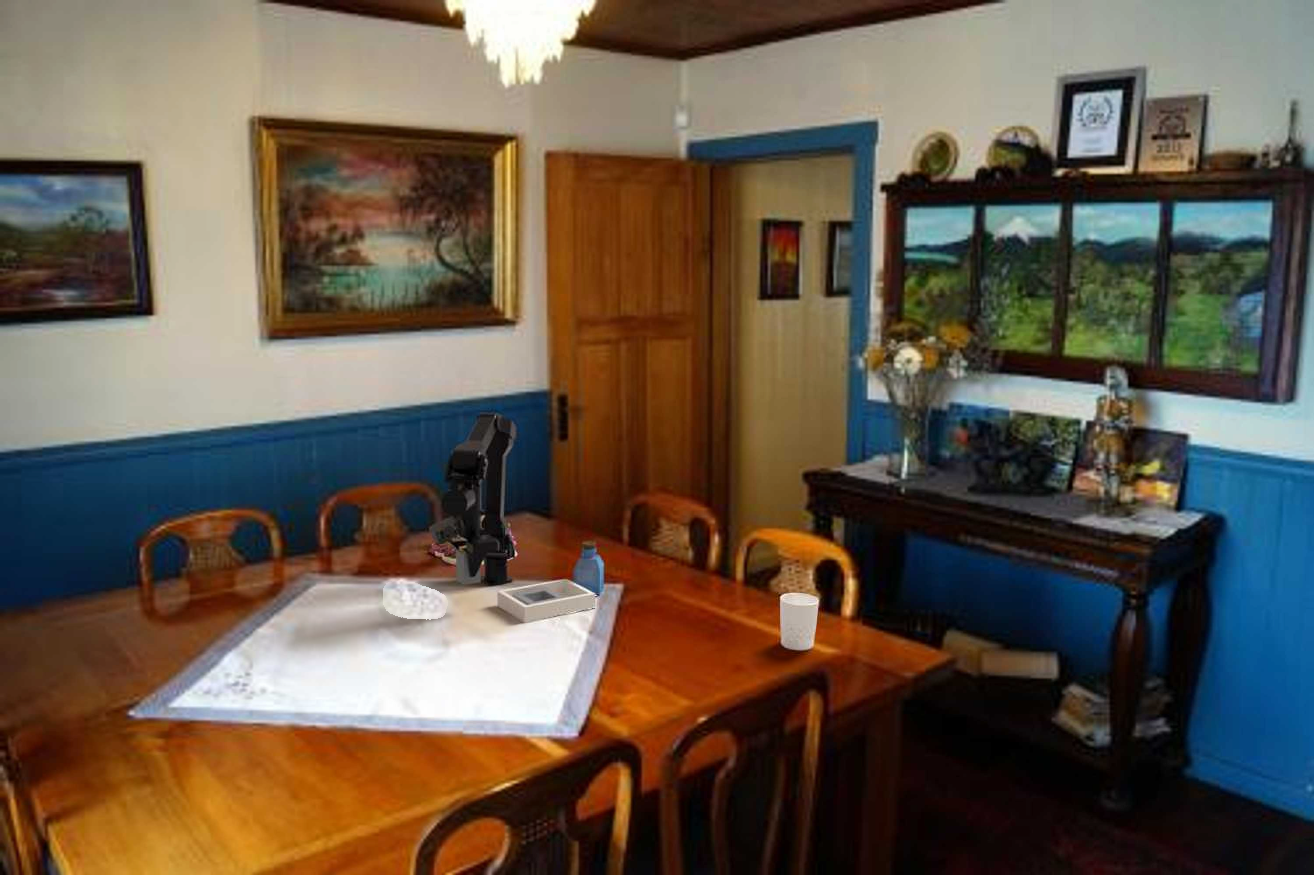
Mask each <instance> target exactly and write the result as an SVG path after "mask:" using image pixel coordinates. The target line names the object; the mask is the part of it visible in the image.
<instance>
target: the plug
mask: <svg viewBox="0 0 1314 875" xmlns="http://www.w3.org/2000/svg"><path fill="white" fill-rule="evenodd" d="M463 548H467V547H466V546H459V549H458V550H456V566H455V571H456V572H455V574H456V575H455V576H456V577H455V580H456V581H457V582H458V583H460V584H462V585H463V586H465V585H473V584H476V583H477V584H478V583H481V582H482V581H481V576H482V572H481V569H482V568H481V567H482V565H481V566H480V568H479V570H478V572H477V574H476V576H475V577H470V572H469V566H468V558H467V554H466V553H465V552H463V551H462V550H461V549H463Z"/></svg>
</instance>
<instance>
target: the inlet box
mask: <svg viewBox="0 0 1314 875" xmlns="http://www.w3.org/2000/svg"><path fill="white" fill-rule="evenodd" d="M496 595H497V607H499V608H500V609H502V610H504V611H505V612H506V613H508V614H510V615H511V616H513V617H515V618H516V619H518V620H519V621H521V622H523V623H524V624H525V623H530V622H536V621H541V620H545V619H544V618H546V619H549V618H548V617H551V618H555V617H554V616H556V617H558V616H557V615H561V616H563V615H562V614H566V615H568V614H567V613H570V612H574V611H578V610H584V609H588V608H593V607H595V608H596V597H595V593H593V592H591V591H589V590H587V589H585V588H583V587H582V586H580V585H578V584H576V583H574V581H572V580H569V579H568V578H564V579H557V580H551V581H547V582H541V583H536V584H535V583H534V584H529V585H525V586H518V587H512V588H508V589H500V590H497V594H496Z"/></svg>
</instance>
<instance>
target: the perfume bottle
mask: <svg viewBox="0 0 1314 875" xmlns="http://www.w3.org/2000/svg"><path fill="white" fill-rule="evenodd" d="M596 545H597V542H596V541H592V540H591V541H589V540H588V541H583V542H582V548H581V553H582V554H581V556H580V557H579V558H578V561H577V563H576V564H575V567H574V569H573V582H574V583H576V584H578V585H580V586H582V587H583V588H585V589H587V590H589V591H591V592H593V593H595V595H597V596H600V597H601V595H602V593H603V591H602V590H604V589H603V588H605V587H604V585H605V584H604V583H605V582H604V581H605V580H604V579H605V574H604V572H605V563H604V561H603V560H602V558H601V556H600V554H596V553H597V549H598V548H597V547H596ZM601 592H602V593H601ZM600 594H601V595H600Z"/></svg>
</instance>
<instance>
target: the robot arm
mask: <svg viewBox="0 0 1314 875" xmlns="http://www.w3.org/2000/svg"><path fill="white" fill-rule="evenodd" d="M516 436H517V426H516V424H515V423H514V421H513V420H511V419H509V418H506V417H503V416H502V415H501V414H499V413H497V412H496V413H495V412H481V413H477V417H476V423H475V424H474V425H473V428H472V430H471V432H470V434H469V435H468V437H467V439H466V441H464V442H463V443H460V444H458V445H456V447H454V449H453V450H452V452H451V453H450V454H449V456H448V460H447V467H446V470H445V476H444V483H446V484H450V485H449V490H447V491H446V492H445V493H444V494H443V495H442V497H441V500H440V507H441V508H442V510H443V512H444V513H445V514H446V515H448V516H449V517H447V518H444V519H442V520H440V521H438V522H436V523H434V524H432V525H430V526H428V530H429V533H430V535H431V538H432V540H433V542H435V541H436V542H438V544H444V543H446V542H448V543H449V544H451V545H452V546H453V547H454V548H455V551H456V550H458V549H459V546H466V547H467V548H463V549H461V550H462V551H463V552H465V553H466V554H467V558H468V566H469V572H470V577H475V576H476V574H477V572H478V570H479V568H480V566H481V567H482V565H481V564H482V562H483V560H484V564H483V575H481V582H483V584H486V585H488V586H495V585H500V584H506V583H510V582H513V581H514V579H513V578H511V577H510V576H508V561H507V559H510V560H512V559H514V558H515V551H516V545H514V542H513V540H514V538H513V539H512V536H513V535H512V534H511V535H510V531H511V527H509V525H508V524H509V523H508V522H507V521H508V520H507V519H506V518H505V516H504V513H505V495H506V494H505V493H506V492H505V488H506V468H507V467H506V466H507V465H506V463H507V461H506V460H507V455H508V454H509V453H510V451H511V450H512V448H513V446H514V440H516V438H517V437H516ZM483 481H485V493H484V495H485V500H484V509H482V483H483ZM483 515H485V516H484V518H483V520H482V521H481V516H483ZM506 550H507V551H506ZM511 558H512V559H511Z"/></svg>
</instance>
